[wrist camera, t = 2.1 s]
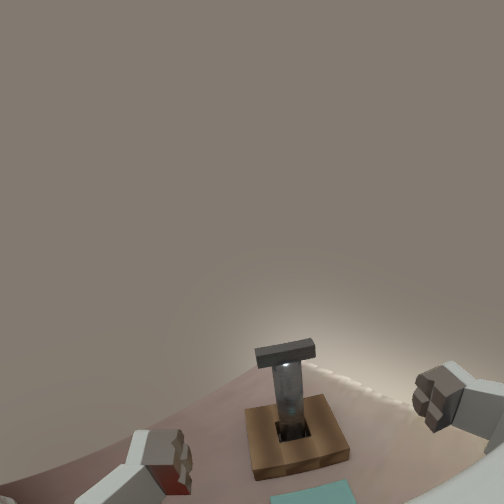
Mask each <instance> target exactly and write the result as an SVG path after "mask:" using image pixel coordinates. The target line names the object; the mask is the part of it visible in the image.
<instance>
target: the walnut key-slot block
mask: <svg viewBox="0 0 504 504" xmlns="http://www.w3.org/2000/svg"><path fill="white" fill-rule="evenodd" d="M303 400H304V418H305V430H306V432H307V435H308V437H306V438H301V439H297V440H292V441H287V442H282V443H279V439H278V435H277V434H280V425H279V417H278V410H277V404H273V405H268V406H262V407H256V408H250V409H245V417H246V425H247V433H248V440H249V448H250V455H251V462H252V469H253V473H254V477H255V480H256V481H258V480H265V479H271V478H277V477H282V476H287V475H292V474H297V473H301V472H306V471H310V470H314V469H318V468H322V467H326V466H329V465H333V464H336V463H340V462H343V461H346V460H348V458H349V451H350V447H349V445H348V443H347V441H346V439H345V437H344V435H343V433H342V431H341V429H340V427H339V425H338V423H337V421H336V419H335V417H334V415H333V413H332V411H331V409H330V407H329V405H328V403H327V401H326V399H325V397H324V395H323V394H320V395H316V396H311V397H307V398H303Z"/></svg>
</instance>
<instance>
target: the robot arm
mask: <svg viewBox="0 0 504 504" xmlns="http://www.w3.org/2000/svg"><path fill="white" fill-rule="evenodd" d="M415 384H416V385H417V389H416V390H415V391H414V393H413V398H412V402H413V407H414V409H415V411H416V412H417V414H418V415H419V416H422V417H425V424H426V425H427V426H428V427H429V428H430V430H431V431H432V432H433V433H435V432H437V431H439V430H442V429H443V428H445V427H447V426H449V425H451V424H452V426H454V427H457V428H459V429H462V430H464V431H467V432H469V433H472V434H474V435H477V436H479V437H482V438H485V439H487V440H489V442H488V444H487V446H486V448H485V450H484V453H485V454H486V456H484V457H483V458H482V459H480V460H479V461H477V462H476V463H474V464H473V465H471V466H470V467H468V468H467V469H465V470H464V471H462V472H461V473H459V474H457V475H456V476H454V477H452V478H451V479H449V480H447V481H446V482H444V483H442V484H440V485H439V486H437V487H435V488H433V489H431V490H429V491H427V492H426V493H424V494H422V495H420V496H418V497H416V498H414V499H412V500H409V501H407V502H405V503H403V504H504V383H498V382H493V381H488V380H482V379H479V380H476V379H475V378H473V377H472V376H471V375H470V374H469V373H467V372H466V371H465V370H464V369H463V368H461V367H460V366H458V364H456V363H455V362H454V361H448V362H446V363H444V364H442V365H440V366H437V367H435V368H433V369H431V370H428V371H426V372H424V373H421V374H419V375H418V377H417V378H416V382H415ZM192 464H193V463H192V455H191V451H190V449H189V446H188V445H187V444H185V443H184V435H183V433H182V431H181V430H179V429H174V430H136V431H135V432H134V435H133V438H132V441H131V445H130V448H129V452H128V455H127V459H126V462H125V464H121V465H119V466H118V467H117V468H116V469H115V470H113V471H112V472H111V473H110V474H108V475H107V476H106V477H105V478H103V479H102V480H101V481H100V482H98V483H97V484H96V485H94V486H93V487H92V488H91V489H89V490H88V491H87V492H85V493H84V494H83V495H81V496H80V497H79V498H77V499H76V500H75V503H74V504H161V503H162V501H163V500H164V499H165V498H166V495H191V485H192V479H191V477H190V475H189V473H190V472H191V470H192ZM0 504H17V502H16V501H14V500H13V499H12V498H9V497H4V496H0Z"/></svg>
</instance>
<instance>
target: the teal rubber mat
mask: <svg viewBox="0 0 504 504" xmlns="http://www.w3.org/2000/svg"><path fill="white" fill-rule="evenodd" d="M270 500H271V504H357V503H356V501H355V499H354V496H353V494H352V492H351V489H350V487H349V485H348V482H347V480H346V479H344V480H340V481H337V482H334V483H330V484H326V485H323V486H319V487H315V488H311V489H306V490H302V491H297V492H293V493H288V494H282V495H277V496H271V497H270Z"/></svg>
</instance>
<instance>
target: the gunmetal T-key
mask: <svg viewBox="0 0 504 504" xmlns="http://www.w3.org/2000/svg"><path fill="white" fill-rule="evenodd" d="M255 355H256V361H257V365H258V369H259V368H265V367H271V366H272V372H273V379H274V387H275V395H276V402H277V410H278V417H279V425H280V433H281V441H282V442H287V441H292V440H297V439H301V438H305V418H304V400H303V384H302V369H301V360H306V359H310V358H315V357H316V354H315V344H314V342H313V340H312V339H311V338H308V339H304V340H299V341H294V342H289V343H284V344H279V345H273V346H267V347H261V348H256V349H255Z"/></svg>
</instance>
